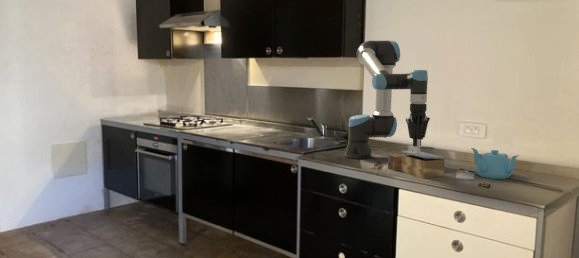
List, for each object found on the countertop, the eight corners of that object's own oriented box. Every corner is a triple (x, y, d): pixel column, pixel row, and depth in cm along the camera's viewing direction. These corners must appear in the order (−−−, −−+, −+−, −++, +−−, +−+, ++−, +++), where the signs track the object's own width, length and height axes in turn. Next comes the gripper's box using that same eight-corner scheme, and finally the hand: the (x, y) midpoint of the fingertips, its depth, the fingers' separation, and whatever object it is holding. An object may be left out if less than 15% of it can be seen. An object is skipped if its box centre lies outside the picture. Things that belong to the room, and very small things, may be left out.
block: (387, 168, 245) (388, 155, 245) (395, 167, 248) (396, 154, 247) (394, 170, 241) (394, 156, 240) (402, 169, 243) (402, 155, 242)
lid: (401, 152, 237) (401, 150, 237) (420, 153, 243) (420, 151, 243) (424, 158, 223) (425, 156, 223) (445, 158, 228) (445, 157, 228)
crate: (401, 171, 239) (401, 155, 238) (420, 169, 244) (420, 153, 243) (424, 178, 224) (424, 161, 223) (443, 175, 230) (444, 159, 229)
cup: (421, 165, 254) (422, 146, 253) (436, 167, 249) (437, 147, 248) (414, 167, 248) (414, 148, 246) (429, 170, 242) (430, 150, 241)
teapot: (477, 179, 222) (478, 153, 221) (469, 170, 240) (471, 146, 239) (517, 181, 219) (519, 154, 218) (506, 172, 237) (508, 147, 236)
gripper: (412, 104, 222) (411, 155, 225) (434, 103, 227) (432, 153, 231) (402, 103, 228) (400, 152, 231) (423, 102, 234) (421, 150, 237)
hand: (416, 152), depth 231 cm, fingers closed
